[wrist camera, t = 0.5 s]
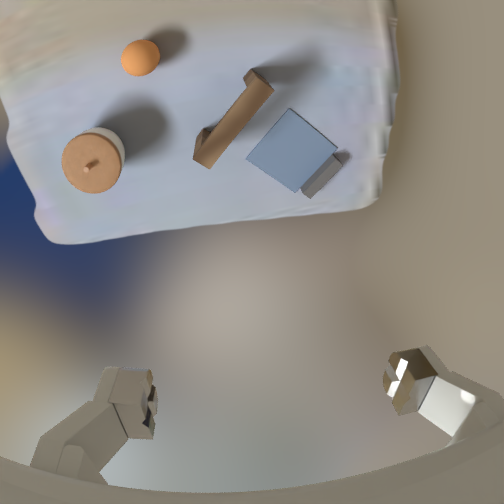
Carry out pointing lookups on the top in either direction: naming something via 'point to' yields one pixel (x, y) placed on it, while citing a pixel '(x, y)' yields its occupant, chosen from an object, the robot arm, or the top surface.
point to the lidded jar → (93, 160)
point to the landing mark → (291, 151)
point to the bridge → (232, 120)
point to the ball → (140, 57)
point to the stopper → (321, 176)
